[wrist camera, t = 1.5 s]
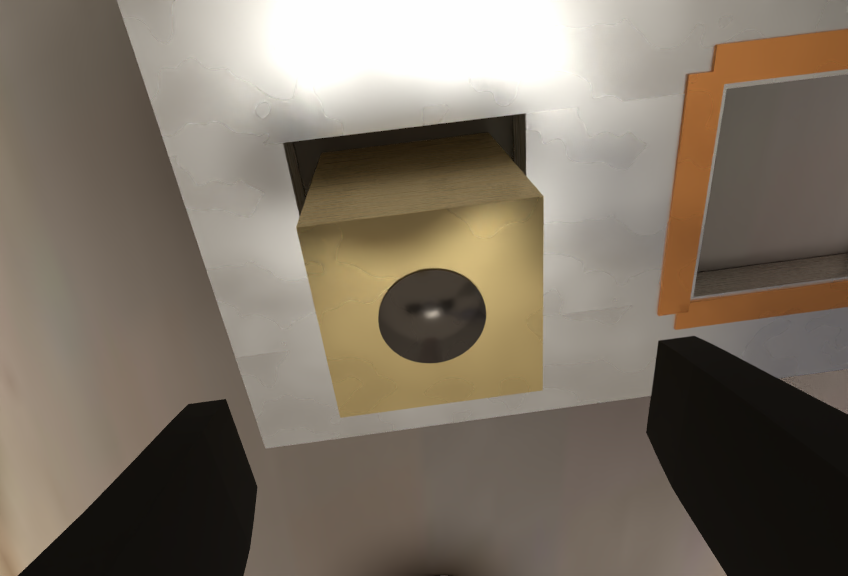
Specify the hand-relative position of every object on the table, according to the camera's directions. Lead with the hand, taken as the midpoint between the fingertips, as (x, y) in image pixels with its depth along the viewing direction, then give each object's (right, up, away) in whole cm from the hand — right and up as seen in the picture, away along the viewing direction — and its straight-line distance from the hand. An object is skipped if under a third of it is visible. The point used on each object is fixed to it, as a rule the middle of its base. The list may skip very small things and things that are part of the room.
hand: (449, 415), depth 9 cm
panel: (+5, +5, +8) cm, 11 cm away
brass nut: (-1, +4, +8) cm, 9 cm away
